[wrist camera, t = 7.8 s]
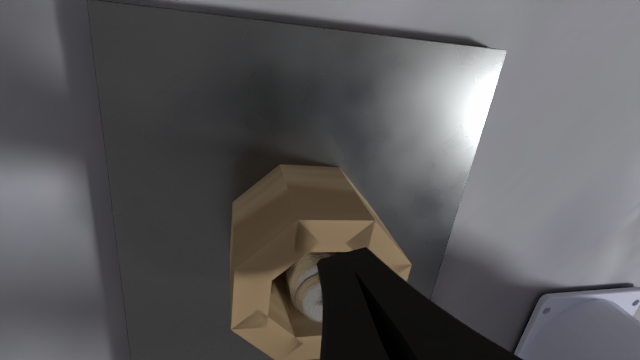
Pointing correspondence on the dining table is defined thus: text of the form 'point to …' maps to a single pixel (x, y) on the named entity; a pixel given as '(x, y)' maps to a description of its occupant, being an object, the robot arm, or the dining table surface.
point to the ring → (295, 251)
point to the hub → (268, 151)
